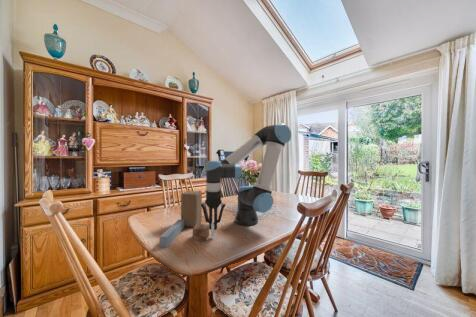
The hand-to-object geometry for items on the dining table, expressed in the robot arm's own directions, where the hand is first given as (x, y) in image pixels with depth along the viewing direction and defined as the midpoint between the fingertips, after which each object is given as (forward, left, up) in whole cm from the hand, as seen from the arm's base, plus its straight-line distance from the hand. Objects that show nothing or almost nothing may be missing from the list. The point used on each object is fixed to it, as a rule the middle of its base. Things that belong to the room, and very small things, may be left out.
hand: (213, 235), depth 105 cm
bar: (+21, 0, -2) cm, 21 cm away
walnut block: (+6, 0, -2) cm, 7 cm away
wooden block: (+17, -19, -2) cm, 26 cm away
